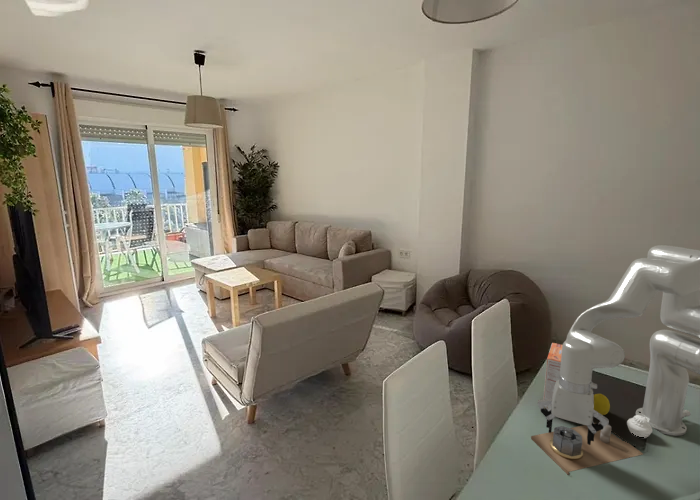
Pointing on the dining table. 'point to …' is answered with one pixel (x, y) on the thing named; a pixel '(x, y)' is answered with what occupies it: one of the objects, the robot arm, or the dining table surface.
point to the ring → (567, 442)
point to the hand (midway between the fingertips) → (568, 435)
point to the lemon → (601, 404)
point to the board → (589, 449)
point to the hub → (567, 435)
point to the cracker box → (552, 371)
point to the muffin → (639, 426)
